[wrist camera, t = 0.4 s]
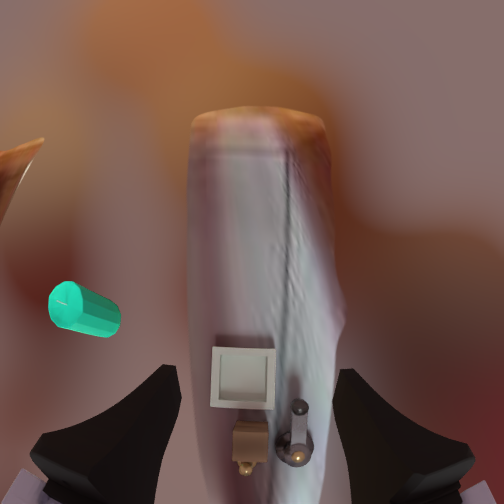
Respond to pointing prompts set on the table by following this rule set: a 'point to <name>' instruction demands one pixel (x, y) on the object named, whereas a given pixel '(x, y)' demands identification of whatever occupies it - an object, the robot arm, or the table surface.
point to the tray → (243, 378)
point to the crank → (297, 435)
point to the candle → (83, 310)
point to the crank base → (247, 466)
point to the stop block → (250, 441)
